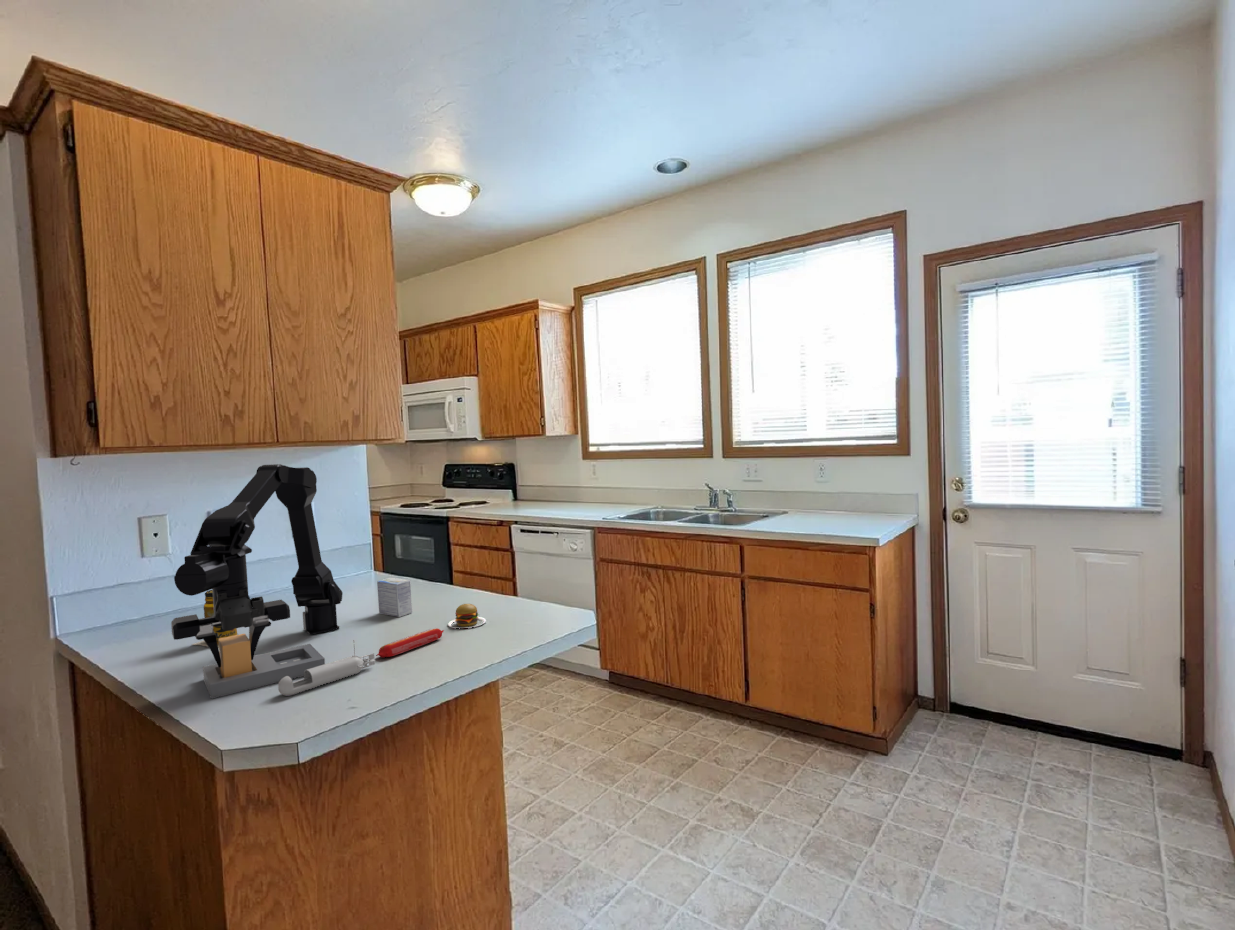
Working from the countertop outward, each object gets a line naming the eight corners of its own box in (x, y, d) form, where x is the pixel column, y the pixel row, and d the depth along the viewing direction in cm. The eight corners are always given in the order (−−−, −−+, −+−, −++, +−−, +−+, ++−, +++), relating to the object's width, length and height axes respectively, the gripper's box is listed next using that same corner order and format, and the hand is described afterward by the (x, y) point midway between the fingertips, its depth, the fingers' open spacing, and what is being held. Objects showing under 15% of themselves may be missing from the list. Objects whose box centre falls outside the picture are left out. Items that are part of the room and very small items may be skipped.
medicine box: (412, 613, 164) (411, 579, 164) (398, 617, 161) (396, 583, 160) (392, 609, 169) (391, 577, 168) (378, 613, 165) (376, 580, 164)
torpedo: (286, 702, 111) (283, 665, 111) (274, 695, 114) (272, 659, 114) (381, 670, 125) (379, 637, 125) (368, 665, 128) (366, 632, 128)
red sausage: (435, 637, 145) (434, 624, 145) (446, 639, 143) (445, 626, 143) (373, 659, 131) (372, 645, 131) (385, 662, 129) (384, 648, 129)
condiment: (219, 647, 142) (215, 594, 141) (191, 645, 145) (187, 592, 144) (247, 637, 149) (244, 586, 148) (219, 635, 152) (216, 585, 151)
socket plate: (310, 655, 135) (309, 643, 135) (325, 670, 125) (324, 658, 125) (203, 679, 123) (202, 666, 123) (211, 698, 114) (210, 684, 113)
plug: (244, 664, 127) (242, 630, 127) (252, 677, 120) (249, 640, 120) (218, 670, 124) (216, 635, 124) (225, 683, 117) (222, 646, 117)
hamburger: (474, 616, 162) (473, 594, 161) (502, 625, 153) (501, 602, 153) (431, 628, 153) (430, 605, 153) (458, 638, 145) (457, 614, 144)
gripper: (172, 599, 108) (179, 689, 109) (293, 580, 120) (299, 661, 120) (168, 587, 117) (174, 671, 118) (281, 571, 128) (286, 647, 129)
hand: (235, 663), depth 121 cm, fingers open, 5 cm apart
